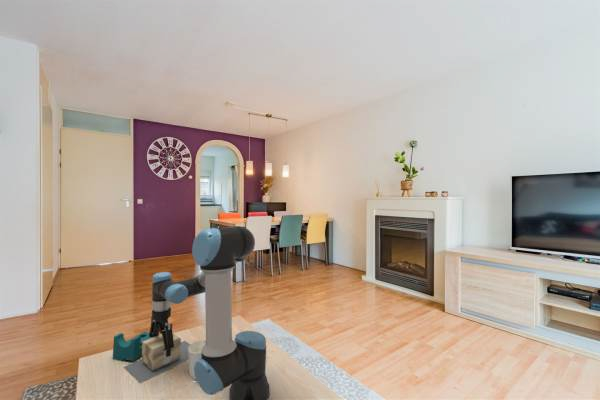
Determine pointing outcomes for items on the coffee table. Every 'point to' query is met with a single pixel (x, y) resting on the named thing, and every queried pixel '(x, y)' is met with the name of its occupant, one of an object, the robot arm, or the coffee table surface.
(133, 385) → the coffee table surface
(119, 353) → the teal l-shaped bracket
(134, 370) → the board
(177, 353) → the block
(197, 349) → the candle holder
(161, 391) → the coffee table surface
